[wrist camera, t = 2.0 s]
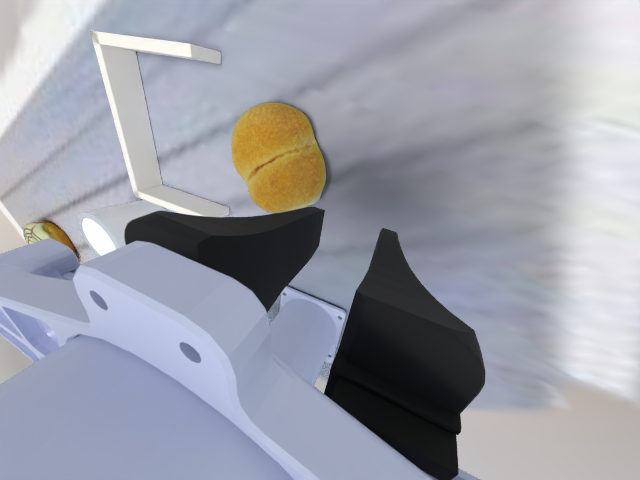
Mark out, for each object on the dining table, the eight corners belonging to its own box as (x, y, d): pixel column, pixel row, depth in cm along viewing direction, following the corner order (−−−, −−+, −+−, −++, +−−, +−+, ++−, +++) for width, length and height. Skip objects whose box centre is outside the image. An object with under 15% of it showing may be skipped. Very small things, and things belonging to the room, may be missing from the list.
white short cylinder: (161, 246, 36) (108, 272, 30) (131, 205, 34) (69, 224, 28) (184, 233, 32) (130, 259, 26) (152, 185, 30) (86, 202, 25)
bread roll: (299, 83, 19) (270, 77, 15) (341, 191, 21) (325, 206, 18) (229, 130, 23) (195, 133, 20) (272, 216, 25) (248, 232, 22)
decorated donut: (87, 255, 48) (63, 265, 44) (76, 270, 53) (54, 280, 50) (47, 210, 46) (19, 217, 42) (40, 231, 51) (15, 239, 48)
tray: (229, 214, 27) (209, 224, 25) (159, 189, 30) (134, 196, 28) (220, 52, 20) (190, 43, 17) (127, 39, 23) (90, 30, 20)
